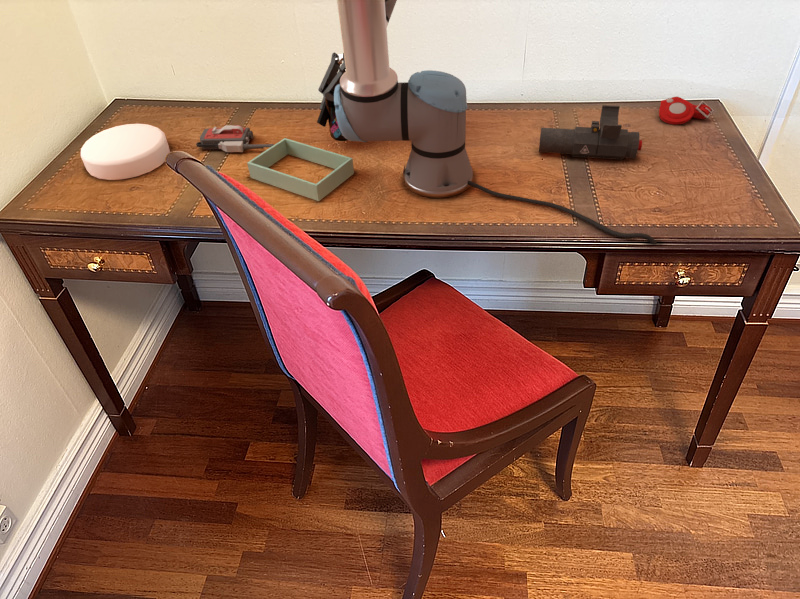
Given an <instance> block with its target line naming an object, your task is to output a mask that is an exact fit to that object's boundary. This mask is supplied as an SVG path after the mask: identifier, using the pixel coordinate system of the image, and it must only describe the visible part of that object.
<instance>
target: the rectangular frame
mask: <svg viewBox="0 0 800 599" xmlns="http://www.w3.org/2000/svg"><path fill="white" fill-rule="evenodd" d="M288 155H289V156H292V157H295V158H298V159H302V160H304V161H307V162H311V163H315V164H318V165H321V166H324V167H328V168H331V169H334V170H332V171H331V172H329V173H328V174H327V175H326V176H324V177H323V178H322V179H320V180H319V181H318V182H316V183H314V182H311V181H308V180H306V179H302V178H299V177H297V176H294V175H291V174H289V173H285V172H282V171H278V170H276V169H272V168H270V167H272V166H273V165H274V164H276V163H277V162H279V161H281V160H282V159H283V158H285V157H286V156H288ZM246 164H247V169H248V173H249V177H250V179H252V180H256V181H258V182H261V183H264V184H267V185H270V186H273V187H276V188H279V189H282V190H285V191H287V192H290V193H294V194H295V195H299V196H302V197H305V198H307V199H311V200H314V201H317V202H320V201H321V200H323V198H325V197H326V196H328V195H330V193H332V192H333V191H334V190H335V189H336V188H338V187H339V186H341V184H343V183H344V182H346V180H348V179H349V178H350V177H352V176H353V175H354V174H355V166H354V158H353V157H351V156H346V155H344V154H340V153H337V152H334V151H330V150H327V149H323V148H319V147H317V146H315V145H314V146H313V145H311V144H307V143H303V142H300V141H297V140H294V139H289V138H287V137H284V138H282V139H281V140H280V141H278V142H276V143H275V144H274V145H273V146H272V147H268V148H267V149H266V150H264V151H262V152H261V153H259V154H257V156H255V157H253V158H252V159H250V160H249V161H247V162H246Z"/></svg>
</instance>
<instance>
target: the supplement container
mask: <svg viewBox="0 0 800 599" xmlns="http://www.w3.org/2000/svg"><path fill="white" fill-rule="evenodd" d="M325 101H326V107H327V115H328V121H327V123H328V130H329V135H330V136H329V137H330V138H331V139H332V140H334V141H337V142H348V141H349V140H347V139H346V138H345V137H344V136H343V135H342V133H341V131H340V129H339V126H338V122H337V118H336V113H335V104H334V90H331V91H329V92H327V93H326V94H325Z"/></svg>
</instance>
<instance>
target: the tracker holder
mask: <svg viewBox="0 0 800 599" xmlns="http://www.w3.org/2000/svg"><path fill="white" fill-rule="evenodd" d="M714 112H715V110H714V109H713V108H712V107H711V106H710V105H708V104H707V103H706V102H705V101H704V100H701V102H699V103H698V104H693V103H691V102H690V101H688V100H686V99H684V98H682V97H680V96H673V97H670V98H666V99H662V100H660V105H659V109H658V117H659V119H660V120H661V121H662V122H663V123H665V124H669V125H676V126H677V125H682V124H683V125H684V124H685V123H687V122H689V121H690V120H691V119H692V118H693V119H699V120H705V119H708V118H709V117H710V116H711V115H712V114H713V113H714Z"/></svg>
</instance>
